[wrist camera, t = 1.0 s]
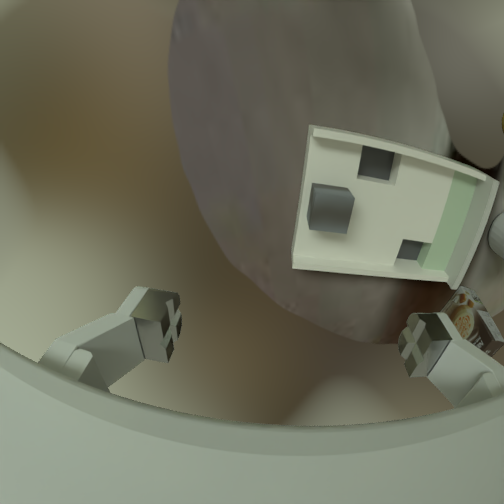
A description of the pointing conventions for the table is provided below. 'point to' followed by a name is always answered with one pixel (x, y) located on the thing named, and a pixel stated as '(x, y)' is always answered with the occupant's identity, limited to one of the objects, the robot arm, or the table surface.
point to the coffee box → (473, 321)
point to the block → (329, 208)
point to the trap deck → (392, 209)
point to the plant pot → (503, 123)
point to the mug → (497, 235)
